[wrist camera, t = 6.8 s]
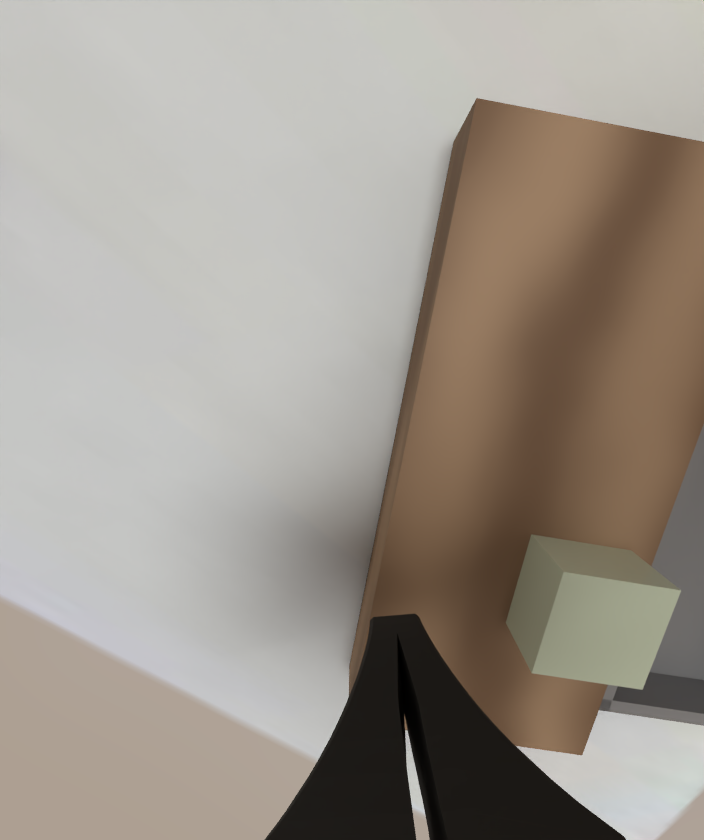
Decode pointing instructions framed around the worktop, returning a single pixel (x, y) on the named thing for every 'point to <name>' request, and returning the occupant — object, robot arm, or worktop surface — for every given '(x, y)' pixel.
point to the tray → (676, 615)
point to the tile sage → (589, 612)
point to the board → (541, 390)
